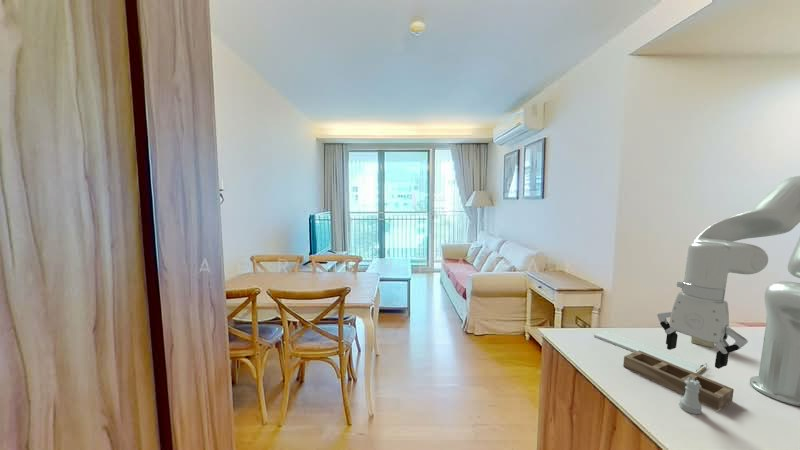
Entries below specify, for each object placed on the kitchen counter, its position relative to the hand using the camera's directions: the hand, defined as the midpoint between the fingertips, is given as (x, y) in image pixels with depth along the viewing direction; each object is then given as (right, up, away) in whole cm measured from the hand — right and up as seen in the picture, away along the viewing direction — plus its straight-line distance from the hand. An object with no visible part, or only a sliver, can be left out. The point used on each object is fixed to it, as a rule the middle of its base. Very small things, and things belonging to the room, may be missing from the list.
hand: (694, 357), depth 81 cm
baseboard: (+12, -12, +32) cm, 36 cm away
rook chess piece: (+1, -14, +2) cm, 15 cm away
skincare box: (+38, -11, +37) cm, 54 cm away
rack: (+6, -13, +13) cm, 19 cm away
